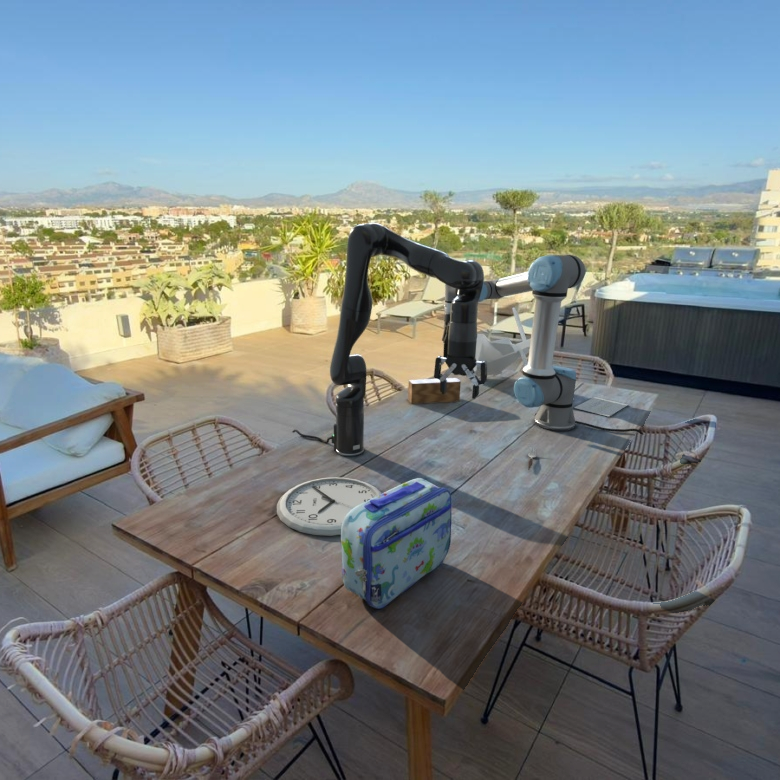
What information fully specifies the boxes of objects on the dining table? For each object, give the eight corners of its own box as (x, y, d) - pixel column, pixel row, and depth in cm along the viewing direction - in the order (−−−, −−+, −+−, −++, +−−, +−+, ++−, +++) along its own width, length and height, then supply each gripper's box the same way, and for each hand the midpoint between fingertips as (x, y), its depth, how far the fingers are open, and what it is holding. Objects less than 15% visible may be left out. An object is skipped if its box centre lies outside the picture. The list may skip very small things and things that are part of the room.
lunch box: (370, 622, 101) (370, 527, 94) (335, 595, 108) (333, 505, 102) (455, 565, 118) (460, 481, 112) (420, 544, 125) (423, 465, 119)
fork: (524, 470, 165) (524, 465, 164) (529, 451, 179) (529, 446, 179) (532, 472, 164) (533, 466, 163) (537, 452, 178) (537, 447, 178)
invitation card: (608, 416, 214) (573, 407, 224) (608, 416, 214) (573, 408, 224) (628, 404, 229) (594, 396, 238) (628, 405, 229) (594, 397, 238)
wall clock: (392, 527, 129) (268, 531, 127) (391, 533, 130) (269, 537, 127) (383, 473, 158) (282, 475, 155) (383, 478, 158) (282, 480, 156)
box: (455, 397, 236) (456, 377, 233) (459, 401, 230) (460, 381, 228) (408, 399, 231) (408, 379, 229) (411, 403, 226) (412, 383, 223)
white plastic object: (482, 419, 265) (461, 396, 241) (463, 346, 287) (443, 319, 263) (553, 395, 253) (539, 368, 228) (528, 321, 275) (513, 290, 250)
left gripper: (432, 338, 138) (430, 396, 143) (486, 343, 133) (481, 403, 138) (440, 333, 145) (438, 388, 150) (491, 337, 140) (487, 395, 145)
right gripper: (436, 308, 232) (434, 355, 238) (454, 317, 208) (452, 368, 215) (452, 308, 233) (450, 354, 239) (472, 316, 210) (469, 368, 216)
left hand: (459, 395), depth 144 cm, fingers open, 8 cm apart
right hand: (451, 361), depth 227 cm, fingers open, 13 cm apart
